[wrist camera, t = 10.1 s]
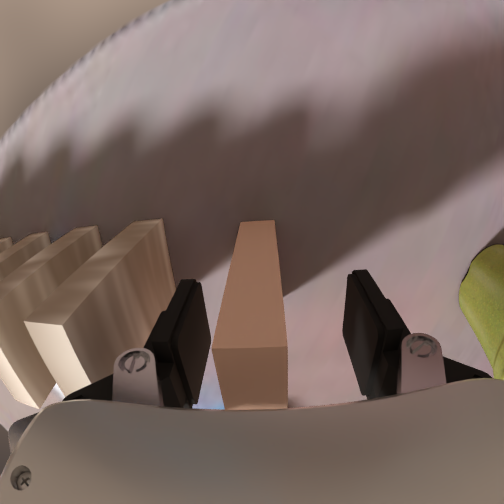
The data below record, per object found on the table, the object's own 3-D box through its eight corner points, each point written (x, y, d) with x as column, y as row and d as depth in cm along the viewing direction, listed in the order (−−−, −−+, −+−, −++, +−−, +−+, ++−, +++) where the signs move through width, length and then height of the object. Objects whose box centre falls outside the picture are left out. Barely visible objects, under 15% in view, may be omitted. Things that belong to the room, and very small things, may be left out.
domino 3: (162, 218, 16) (62, 325, 7) (177, 296, 18) (120, 430, 9) (134, 221, 16) (23, 320, 7) (151, 296, 18) (82, 422, 9)
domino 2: (97, 225, 16) (-16, 315, 7) (116, 297, 18) (39, 409, 9) (75, 227, 17) (-36, 311, 7) (95, 296, 18) (16, 400, 9)
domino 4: (274, 219, 16) (287, 346, 7) (278, 300, 18) (286, 448, 9) (240, 221, 16) (211, 348, 7) (248, 301, 18) (235, 449, 9)
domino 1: (47, 231, 17) (-58, 307, 7) (67, 296, 19) (-12, 388, 9) (31, 233, 17) (-69, 304, 8) (51, 296, 19) (-27, 381, 10)
